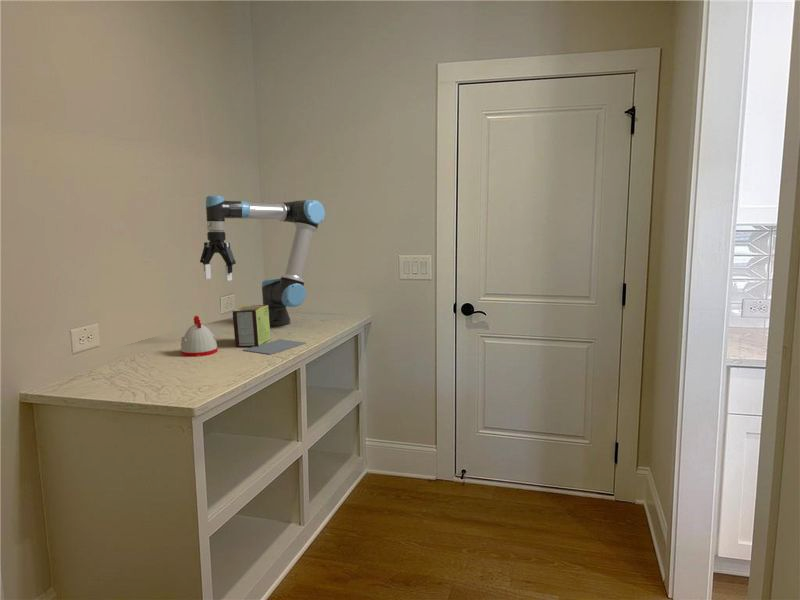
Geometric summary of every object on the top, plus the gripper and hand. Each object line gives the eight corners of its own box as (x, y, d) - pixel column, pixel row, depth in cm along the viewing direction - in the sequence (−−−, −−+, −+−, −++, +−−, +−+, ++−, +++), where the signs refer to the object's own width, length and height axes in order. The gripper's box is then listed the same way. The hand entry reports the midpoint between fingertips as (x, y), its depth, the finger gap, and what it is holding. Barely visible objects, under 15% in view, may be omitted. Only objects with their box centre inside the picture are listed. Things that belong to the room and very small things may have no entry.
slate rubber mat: (279, 339, 240) (279, 339, 239) (306, 343, 232) (306, 342, 232) (242, 350, 221) (242, 349, 221) (270, 354, 213) (270, 353, 213)
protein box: (271, 338, 241) (268, 304, 239) (258, 346, 226) (255, 309, 224) (248, 339, 242) (245, 305, 240) (234, 346, 227) (231, 310, 225)
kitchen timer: (212, 346, 228) (210, 312, 226) (221, 353, 217) (219, 316, 215) (177, 351, 221) (175, 315, 218) (185, 358, 209) (182, 320, 207)
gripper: (190, 231, 239) (192, 278, 242) (229, 231, 226) (231, 281, 229) (204, 231, 245) (206, 277, 248) (242, 231, 233) (244, 280, 236)
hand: (218, 279), depth 239 cm, fingers open, 13 cm apart
